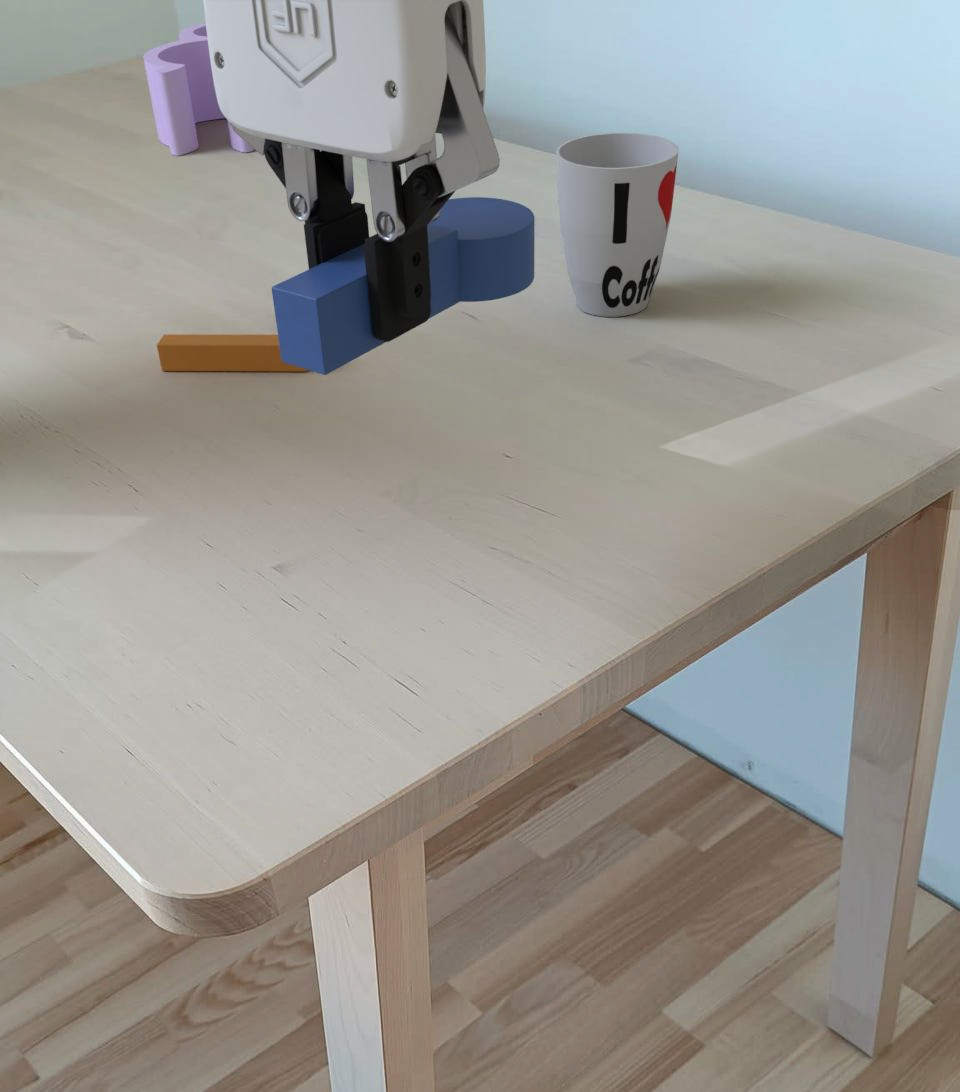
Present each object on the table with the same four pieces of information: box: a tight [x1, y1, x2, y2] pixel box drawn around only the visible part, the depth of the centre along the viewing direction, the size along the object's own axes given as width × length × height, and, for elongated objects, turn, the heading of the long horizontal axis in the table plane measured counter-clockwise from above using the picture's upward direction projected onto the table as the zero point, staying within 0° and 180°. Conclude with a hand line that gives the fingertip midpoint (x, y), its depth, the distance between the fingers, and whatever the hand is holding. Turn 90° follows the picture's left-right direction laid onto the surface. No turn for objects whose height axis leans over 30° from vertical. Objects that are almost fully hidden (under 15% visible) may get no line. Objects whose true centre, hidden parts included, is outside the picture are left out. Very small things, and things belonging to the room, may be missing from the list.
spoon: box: [271, 196, 535, 376], centre depth 54 cm, size 14×6×3 cm, turn 144°
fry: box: [156, 333, 308, 373], centre depth 85 cm, size 10×2×2 cm, turn 85°
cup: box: [555, 132, 680, 318], centre depth 88 cm, size 8×8×10 cm
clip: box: [142, 22, 256, 157], centre depth 126 cm, size 20×12×7 cm, turn 1°
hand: (373, 318), depth 53 cm, fingers closed on spoon, 2 cm apart
